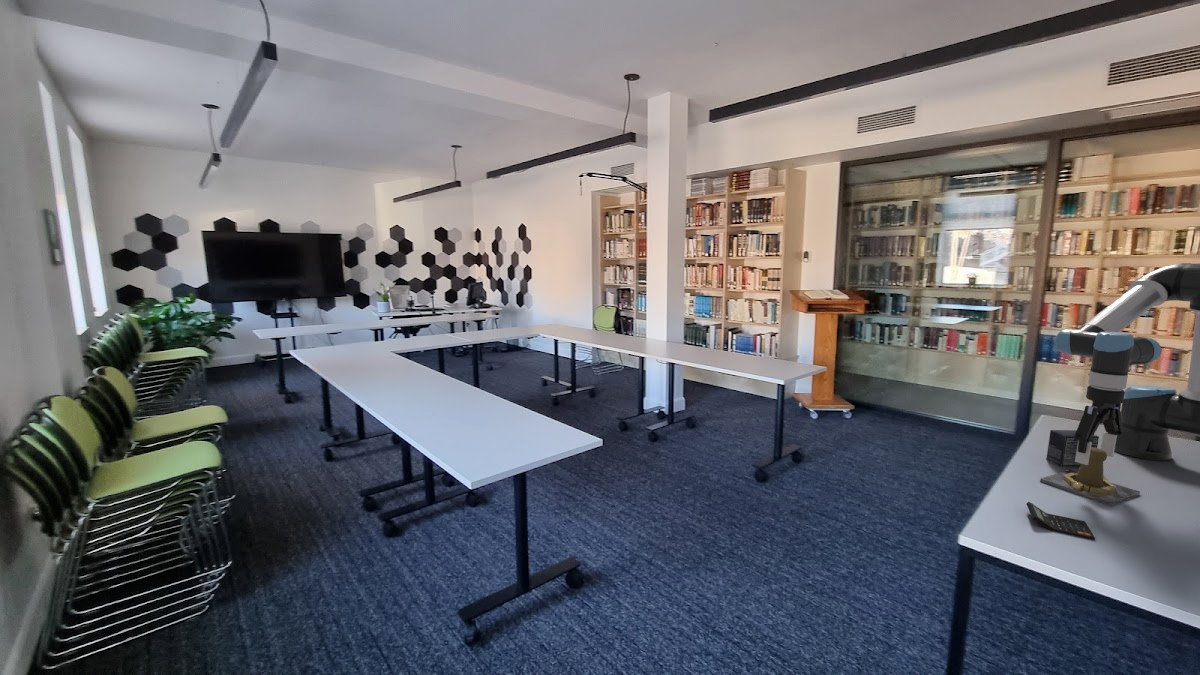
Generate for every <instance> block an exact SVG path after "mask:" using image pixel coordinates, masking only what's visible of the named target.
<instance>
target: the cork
mask: <svg viewBox="0 0 1200 675" xmlns="http://www.w3.org/2000/svg"><path fill="white" fill-rule="evenodd" d="M1107 458H1108V456H1107V454H1106V452H1105V451H1104V450H1102V449H1101V448H1098V447H1097V448H1094V447H1091V451H1090V457H1089V463H1088V465H1085V464H1081V466H1080V467H1079V468H1078V471H1077V472H1078V474H1077V477H1076V479H1075V481H1077V482H1080V483H1083V484H1086V485H1089V486H1096V487H1103V477H1104V462H1105V461H1106V460H1107Z"/></svg>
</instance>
